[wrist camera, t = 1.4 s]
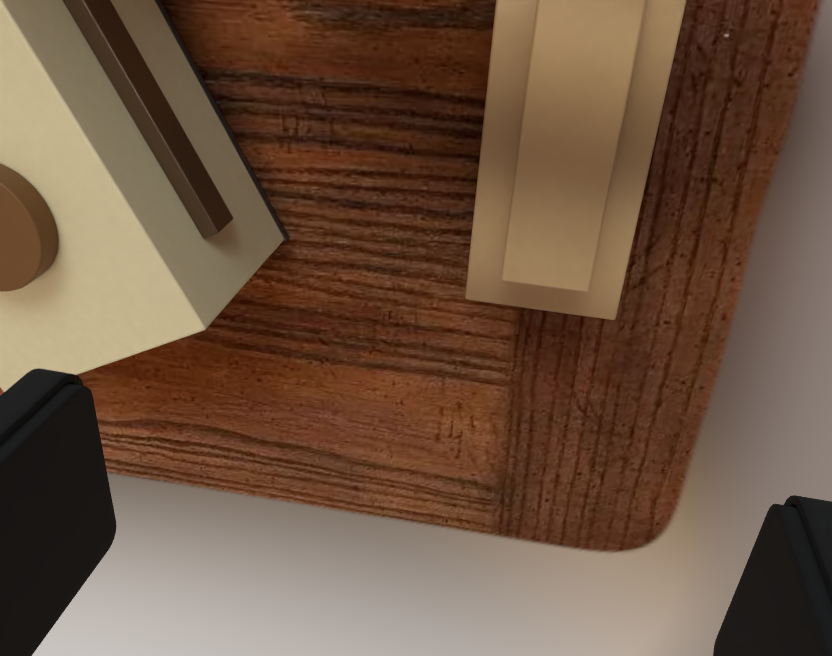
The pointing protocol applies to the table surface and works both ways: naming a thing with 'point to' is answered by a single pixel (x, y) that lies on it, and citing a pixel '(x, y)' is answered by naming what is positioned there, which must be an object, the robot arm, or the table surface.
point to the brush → (567, 149)
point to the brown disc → (24, 232)
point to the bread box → (120, 185)
